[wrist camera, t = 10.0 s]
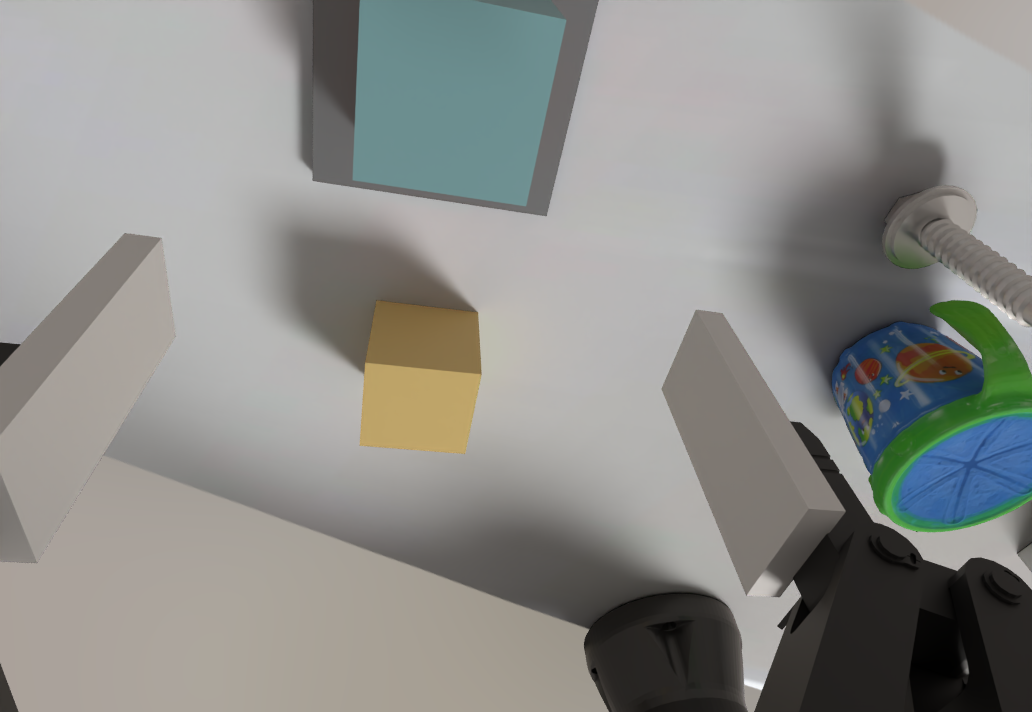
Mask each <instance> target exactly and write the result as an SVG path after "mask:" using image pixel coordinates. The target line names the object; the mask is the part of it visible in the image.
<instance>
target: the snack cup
mask: <svg viewBox="0 0 1032 712" xmlns="http://www.w3.org/2000/svg"><path fill="white" fill-rule="evenodd" d="M930 312H931V313H932V314H934V315H935V316H937V317H940V318H942V319H943V320H944V321H946V322H947V323H948V324H949V325H950V326H951V327H952V328H954V329H955V330H956V331H957V332H958V333H959V334H960V335H961V336H963V337H964V338H965V339H966V340H967V341H968V342H969V343H970V344H971V345H973V346H974V347H975V348H976V349H977V350H978V351H979V352H980V353H981V355H982V359H981V358H979V357H978V356H976V355H975V354H974V353H972V352H970V351H969V350H967V349H966V348H964V347H963V346H961V345H960V344H958V343H957V342H955V341H954V340H952V339H951V338H949V337H948V336H945V335H943V334H941V333H940V332H938V331H937V330H935V329H933V328H930V327H927V326H925V325H920V324H914V323H905V322H901V321H900V322H896V323H893V324H891V325H890V326H889V327H886V328H883V329H881V330H878V331H876V332H873V333H871V334H868V335H867V336H866V337H864V338H862V339H861V340H859V341H858V342H857V343H856V344H854V345H853V346H852V347H851V348H847V349H845V351H844V352H843V353H842V354H841V356H840V361H839V363H838V365H837V366H836V367H835V369H834V371H833V373H832V388H833V389H832V393H833V395H834V399H835V402H836V404H837V406H838V407H839V409H840V411H841V413H842V415H843V417H844V420H845V422H846V425H847V427H848V430H849V432H850V434H851V436H852V438H853V440H854V442H855V445H856V447H857V449H858V451H859V453H860V455H861V456H862V457H863V461H864V464H865V466H866V468H867V470H868V471H869V472H870V474H871V475H870V477H869V483H870V484H871V488H872V490H873V498H874V502H875V504H876V506H877V507H878V509H879V511H880V512H881V513H882V514H884V515H886V516H888V517H889V518H890V519H891V520H892V521H893V522H894V523H896V524H898V525H899V526H902V527H904V528H906V529H910V530H913V531H916V532H918V531H920V532H945V531H952V530H958V529H963V528H967V527H971V526H975V525H978V524H981V523H984V522H987V521H990V520H993V519H995V518H998V517H1000V516H1002V515H1004V514H1007V513H1009V512H1011V511H1013V510H1015V509H1017V508H1019V507H1020V506H1022V505H1024V504H1025V503H1027V502H1028V501H1030V500H1032V375H1031V372H1030V370H1029V368H1028V364H1027V362H1026V360H1025V358H1024V356H1023V354H1022V353H1021V351H1020V350H1019V348H1018V346H1017V345H1016V343H1015V342H1014V340H1013V339H1012V337H1011V336H1010V335H1009V334H1008V332H1007V331H1006V329H1005V328H1004V327H1003V326H1002V324H1001V323H1000V322H999V320H998V319H997V318H996V317H995V316H994V314H993V313H992V312H991V311H990V310H989V309H988V308H986V307H984V306H983V305H981V304H978V303H975V302H971V301H960V300H951V301H947V302H940V303H937V304H934V305H932V306H931V307H930Z"/></svg>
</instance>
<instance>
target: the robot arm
mask: <svg viewBox="0 0 1032 712" xmlns="http://www.w3.org/2000/svg"><path fill="white" fill-rule="evenodd" d="M175 337H176V335H175V328H174V321H173V314H172V307H171V300H170V293H169V286H168V279H167V272H166V265H165V258H164V251H163V244H162V238H157V237H150V236H142V235H135V234H127V233H125V234H124V235H123V236H122V237H121V238H120V239H119V240H118V241H117V242H116V243H115V244H114V245H113V246H112V247H111V249H110V250H109V251H108V252H107V253H106V254H105V255H104V256H103V257H102V258H101V259H100V260H99V261H98V262H97V264H96V265H95V266H94V267H93V268H92V269H91V270H90V271H89V272H88V273H87V274H86V275H85V276H84V277H83V279H82V280H81V281H80V282H79V283H78V284H77V285H76V286H75V287H74V288H73V289H72V290H71V291H70V292H69V293H68V295H67V296H66V297H65V298H64V299H63V300H62V301H61V302H60V303H59V304H58V305H57V306H56V307H55V308H54V310H53V311H52V312H51V313H50V314H49V315H48V316H47V317H46V318H45V319H44V320H43V321H42V322H41V323H40V325H39V326H38V327H37V328H36V329H35V330H34V331H33V332H32V333H31V334H30V335H29V336H28V337H27V338H26V340H25V341H24V342H23V343H22V344H21V345H20V344H11V343H1V342H0V562H21V563H38V561H39V560H40V558H41V556H42V555H43V553H44V551H45V550H46V548H47V546H48V545H49V543H50V542H51V540H52V538H53V537H54V535H55V533H56V532H57V530H58V528H59V527H60V525H61V523H62V522H63V520H64V519H65V517H66V515H67V514H68V512H69V510H70V509H71V507H72V505H73V504H74V502H75V501H76V499H77V497H78V496H79V494H80V492H81V491H82V489H83V487H84V486H85V484H86V483H87V481H88V479H89V478H90V476H91V474H92V473H93V471H94V469H95V468H96V466H97V465H98V463H99V461H100V460H101V458H102V456H103V455H104V453H105V451H106V450H107V448H108V447H109V445H110V443H111V442H112V440H113V438H114V437H115V435H116V433H117V432H118V430H119V428H120V427H121V425H122V424H123V422H124V420H125V419H126V417H127V415H128V414H129V412H130V410H131V409H132V407H133V406H134V404H135V402H136V401H137V399H138V397H139V396H140V394H141V392H142V391H143V389H144V388H145V386H146V384H147V383H148V381H149V379H150V378H151V376H152V374H153V373H154V371H155V370H156V368H157V366H158V365H159V363H160V361H161V360H162V358H163V356H164V355H165V353H166V351H167V350H168V348H169V347H170V345H171V343H172V342H173V340H174V338H175ZM662 391H663V394H664V396H665V399H666V401H667V403H668V406H669V408H670V411H671V413H672V416H673V418H674V421H675V423H676V425H677V428H678V430H679V433H680V435H681V438H682V440H683V442H684V445H685V447H686V450H687V452H688V455H689V457H690V460H691V462H692V464H693V467H694V469H695V472H696V474H697V477H698V479H699V481H700V484H701V486H702V489H703V491H704V494H705V496H706V499H707V501H708V503H709V506H710V508H711V511H712V513H713V516H714V518H715V520H716V523H717V525H718V528H719V530H720V533H721V535H722V538H723V540H724V542H725V545H726V547H727V550H728V552H729V555H730V557H731V559H732V562H733V564H734V567H735V569H736V572H737V574H738V577H739V579H740V581H741V584H742V586H743V589H744V591H745V594H746V596H766V597H780V596H781V595H782V594H783V592H784V591H785V590H786V588H787V587H788V586H789V584H790V583H791V582H792V581H793V579H794V582H795V584H796V586H797V588H798V590H799V592H800V594H801V597H800V598H799V600H798V601H797V602H796V603H795V605H794V606H793V607H792V608H791V610H790V611H789V612H788V613H787V615H786V616H785V617H784V618H783V620H782V621H781V622H780V623H779V625H778V626H777V627H779V628H780V629H783V628H784V627H785V626H786V628H785V630H784V633H783V636H782V638H781V641H780V644H779V646H778V649H777V652H776V655H775V657H774V660H773V663H772V665H771V668H770V671H769V673H768V676H767V679H766V681H765V684H764V687H763V689H762V692H761V695H760V698H759V700H758V703H757V706H756V709H755V711H754V712H1032V590H1031V589H1030V588H1029V586H1028V585H1027V584H1026V583H1025V582H1024V581H1023V580H1022V579H1021V578H1020V577H1019V576H1017V575H1016V574H1014V573H1013V572H1012V571H1011V570H1009V569H1008V568H1006V567H1004V566H1002V565H1000V564H998V563H996V562H994V561H991V560H988V559H984V558H971V559H970V560H968V561H967V562H966V563H965V564H964V565H963V566H962V567H961V568H960V569H959V570H958V571H956V570H953V569H950V568H947V567H944V566H941V565H938V564H935V563H932V562H929V561H926V560H923V558H922V557H921V555H920V553H919V552H918V550H917V549H916V548H915V547H914V546H913V545H912V543H911V542H910V541H909V540H908V539H907V538H905V537H904V536H902V535H901V534H899V533H898V532H897V531H895V530H894V529H891V528H889V527H887V526H884V525H882V524H878V523H874V522H873V521H872V519H871V518H870V516H869V515H868V513H867V512H866V510H865V508H864V507H863V505H862V504H861V502H860V501H859V499H858V498H857V496H856V495H855V493H854V492H853V490H852V489H851V487H850V486H849V484H848V483H847V481H846V480H845V478H844V476H843V475H842V474H839V471H840V470H839V469H838V467H837V466H836V464H835V463H834V461H833V460H830V455H829V454H828V452H827V451H826V449H825V447H824V446H823V444H822V443H821V441H820V440H819V439H818V438H817V437H816V436H815V435H814V434H813V433H812V432H811V431H810V430H809V429H807V428H806V427H805V426H804V425H803V424H802V423H800V422H790V421H789V419H788V418H787V416H786V414H785V413H784V411H783V410H782V408H781V406H780V405H779V403H778V402H777V400H776V398H775V397H774V395H773V394H772V392H771V390H770V389H769V387H768V386H767V384H766V382H765V381H764V379H763V378H762V376H761V374H760V373H759V371H758V370H757V368H756V366H755V365H754V363H753V362H752V360H751V358H750V357H749V355H748V353H747V352H746V350H745V349H744V347H743V345H742V344H741V342H740V341H739V339H738V337H737V336H736V334H735V333H734V331H733V329H732V328H731V326H730V325H729V323H728V321H727V320H726V318H725V317H724V315H723V313H716V312H709V311H701V310H696V311H695V313H694V315H693V318H692V320H691V322H690V325H689V327H688V329H687V332H686V334H685V336H684V338H683V341H682V343H681V345H680V348H679V350H678V352H677V355H676V357H675V359H674V361H673V364H672V366H671V368H670V371H669V373H668V375H667V377H666V380H665V382H664V384H663V387H662ZM584 649H585V655H586V661H587V666H588V670H589V673H590V675H591V677H592V679H593V681H594V682H595V684H596V686H597V688H598V690H599V693H600V695H601V697H602V699H603V701H604V703H605V705H606V706H607V709H608V710H609V712H748V710H747V707H746V704H745V697H744V674H743V659H742V639H741V635H740V632H739V629H738V627H737V624H736V621H735V619H734V616H733V614H732V612H731V611H730V609H729V608H728V607H727V606H726V605H724V604H723V603H721V602H719V601H717V600H715V599H712V598H709V597H706V596H701V595H695V594H665V595H658V596H652V597H648V598H644V599H640V600H637V601H634V602H631V603H628V604H625V605H623V606H621V607H619V608H617V609H615V610H613V611H611V612H609V613H608V614H606V615H605V616H603V617H602V618H601V619H599V620H598V621H597V622H596V623H595V624H594V625H593V626H592V627H591V629H590V630H589V632H588V633H587V635H586V637H585V642H584ZM0 712H18V709H17V707H16V704H15V701H14V699H13V696H12V693H11V691H10V688H9V685H8V683H7V680H6V678H5V675H4V672H3V670H2V667H1V664H0Z"/></svg>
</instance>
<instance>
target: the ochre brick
mask: <svg viewBox="0 0 1032 712" xmlns="http://www.w3.org/2000/svg"><path fill="white" fill-rule="evenodd" d="M481 375H482V374H481V357H480V339H479V321H478V312H470V311H462V310H453V309H445V308H436V307H428V306H420V305H411V304H403V303H394V302H386V301H378V300H376V306H375V311H374V317H373V322H372V328H371V333H370V339H369V344H368V350H367V356H366V361H365V373H364V389H363V404H362V419H361V434H360V446H372V447H384V448H397V449H410V450H423V451H435V452H448V453H461V454H465V452H466V447H467V442H468V437H469V432H470V427H471V423H472V418H473V413H474V408H475V403H476V399H477V394H478V389H479V384H480V379H481Z"/></svg>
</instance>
